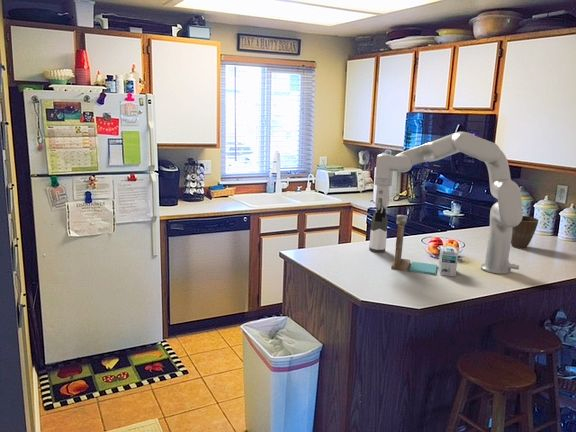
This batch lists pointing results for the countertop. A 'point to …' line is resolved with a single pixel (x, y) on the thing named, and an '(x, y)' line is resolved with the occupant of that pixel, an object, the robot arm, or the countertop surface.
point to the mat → (423, 268)
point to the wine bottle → (378, 235)
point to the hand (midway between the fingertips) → (380, 219)
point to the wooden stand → (400, 245)
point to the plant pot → (523, 232)
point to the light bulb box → (448, 260)
